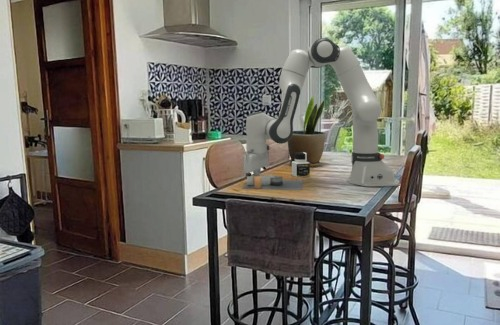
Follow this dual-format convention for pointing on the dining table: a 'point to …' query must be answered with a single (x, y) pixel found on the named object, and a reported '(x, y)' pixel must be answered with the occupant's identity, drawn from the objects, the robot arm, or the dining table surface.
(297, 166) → the medicine bottle
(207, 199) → the dining table surface
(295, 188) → the base plate
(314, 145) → the potted plant
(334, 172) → the dining table surface
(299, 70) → the robot arm
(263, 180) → the crank
